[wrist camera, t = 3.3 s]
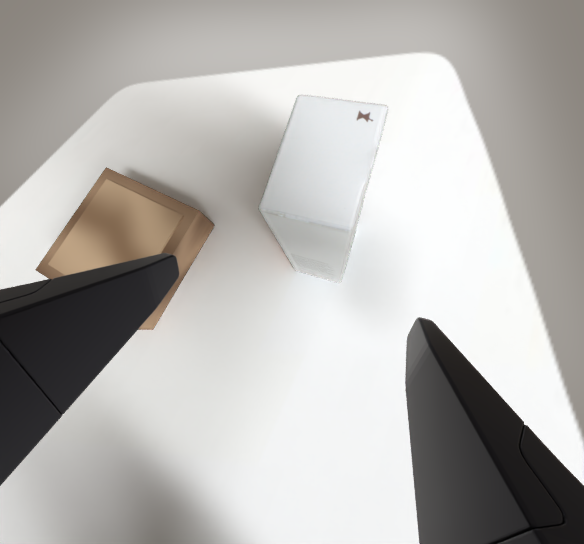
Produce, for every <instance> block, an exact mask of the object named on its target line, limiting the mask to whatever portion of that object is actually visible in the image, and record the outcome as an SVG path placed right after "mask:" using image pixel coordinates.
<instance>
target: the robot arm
mask: <svg viewBox="0 0 584 544" xmlns="http://www.w3.org/2000/svg"><path fill="white" fill-rule="evenodd" d="M179 274H180V272H179V267H178V262H177V258H176V256H175V255H172V254H168V253H162V254H157V255H153V256H148V257H144V258H140V259H135V260H131V261H126V262H122V263H118V264H113V265H109V266H105V267H100V268H96V269H91V270H87V271H83V272H78V273H74V274H70V275H65V276H61V277H56V278H53V279H47V280H43V281H39V282H34V283H30V284H25V285H20V286H16V287H11V288H6V289H1V290H0V486H1V484H2V483H3V482H4V481H5V480H6V479H7V478H8V477H9V475H10V474H11V473H12V472H13V471H14V470H15V469H16V467H17V466H18V465H19V464H20V463H21V462H22V461H23V460H24V458H25V457H26V456H27V455H28V454H29V453H30V452H31V450H32V449H33V448H34V447H35V446H36V445H37V444H38V443H39V441H40V440H41V439H42V438H43V437H44V436H45V435H46V433H47V432H48V431H49V430H50V429H51V428H52V427H53V425H54V424H55V423H56V422H57V421H58V420H59V419H60V418H61V416H62V414H64V413H65V412H66V410H67V409H68V408H69V407H70V406H71V405H72V404H73V403H74V401H75V400H76V399H77V398H78V397H79V396H80V395H81V393H82V392H83V391H84V390H85V389H86V388H87V387H88V386H89V384H90V383H91V382H92V381H93V380H94V379H95V378H96V376H97V375H98V374H99V373H100V372H101V371H102V370H103V369H104V367H105V366H106V365H107V364H108V363H109V362H110V361H111V360H112V358H113V357H114V356H115V355H116V354H117V353H118V352H119V350H120V349H121V348H122V347H123V346H124V345H125V344H126V343H127V341H128V340H129V339H130V338H131V337H132V336H133V335H134V333H135V332H136V331H137V330H138V329H139V328H140V327H141V326H142V324H143V323H144V322H145V321H146V320H147V319H148V318H149V316H150V315H151V314H152V313H153V312H154V311H155V310H156V308H157V307H158V306H159V304H160V303H161V302H162V300H163V299H164V298H165V296H166V295H167V293H168V292H169V291H170V289H171V288H172V286H173V285H174V284H175V282H176V281H177V279H178V278H179ZM405 384H406V398H407V409H408V420H409V432H410V443H411V454H412V465H413V476H414V487H415V499H416V510H417V521H418V532H419V543H420V544H584V485H583V484H582V483H581V482H580V481H579V480H578V479H577V478H576V477H575V476H574V475H573V474H572V473H571V472H570V471H569V470H568V469H567V468H566V467H565V466H564V465H563V464H562V463H561V462H560V461H559V460H558V459H557V457H556V456H555V455H554V454H553V453H552V452H551V451H550V450H549V449H548V448H547V447H546V446H545V445H544V444H543V442H542V441H541V440H540V439H539V438H538V437H537V436H536V435H535V434H534V433H533V431H532V430H531V429H530V428H529V427H528V426H527V425H524V422H523V421H522V419H521V418H520V417H519V416H518V415H517V414H516V413H515V412H514V411H513V410H512V408H511V407H510V406H509V405H508V404H507V403H506V402H505V401H504V400H503V398H502V397H501V396H500V395H499V394H498V393H497V392H496V391H495V390H494V389H493V387H492V386H491V385H490V384H489V383H488V382H487V381H486V380H485V379H484V377H483V376H482V375H481V374H480V373H479V372H478V371H477V370H476V369H475V368H474V366H473V365H472V364H471V363H470V362H469V361H468V360H467V359H466V358H465V356H464V355H463V354H462V353H461V352H460V351H459V350H458V349H457V348H456V346H455V345H454V344H453V343H452V342H451V341H450V340H449V339H448V338H447V337H446V335H445V334H444V333H443V332H442V331H441V330H440V329H439V328H438V327H437V325H436V324H435V323H434V322H433V321H431V320H428V319H424V318H420V317H419V318H417V319H416V321H415V323H414V325H413V326H412V328H411V330H410V332H409V334H408V337H407V350H406V379H405Z"/></svg>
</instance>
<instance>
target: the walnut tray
mask: <svg viewBox="0 0 584 544" xmlns="http://www.w3.org/2000/svg"><path fill="white" fill-rule="evenodd" d="M214 226H215V225H214V224H213V223H212V222H211V221H210V220H209V219H208V218H207V217H205V216H204V215H203V214H202V213H201V212H200V211H199V210H197V209H195V208H192V207H190V206H188V205H186V204H184V203H182V202H179V201H177V200H175V199H173V198H171V197H169V196H167V195H164V194H162V193H160V192H158V191H156V190H154V189H152V188H149V187H147V186H145V185H143V184H141V183H139V182H137V181H134V180H132V179H130V178H128V177H126V176H124V175H121V174H119V173H117V172H115V171H113V170H111V169H109V168H105V170H104V171H103V173H102V174H101V176H100V177H99V179H98V180H97V181H96V183H95V184H94V186H93V187H92V189H91V190H90V192H89V193H88V194H87V196H86V197H85V199H84V200H83V202H82V203H81V205H80V206H79V208H78V209H77V210H76V212H75V213H74V215H73V216H72V218H71V219H70V221H69V222H68V223H67V225H66V226H65V228H64V229H63V231H62V232H61V234H60V235H59V237H58V238H57V239H56V241H55V242H54V244H53V245H52V247H51V248H50V250H49V251H48V252H47V254H46V255H45V257H44V258H43V260H42V261H41V263H40V264H39V265H38V267H37V268H36V271H38V272H39V273H41V274H43V275H44V276H46V277H47V278H49V279H53V278H56V277H61V276H65V275H70V274H74V273H78V272H83V271H87V270H91V269H96V268H100V267H105V266H109V265H113V264H118V263H122V262H126V261H131V260H135V259H140V258H144V257H148V256H153V255H157V254H162V253H168V254H172V255H175V256H176V258H177V262H178V267H179V272H180V274H179V278H178V279H177V281H176V282H175V284H174V285H173V286H172V288H171V289H170V291H169V292H168V293H167V295H166V296H165V298H164V299H163V300H162V302H161V303H160V304H159V306H158V307H157V308H156V310H155V311H154V312H153V313H152V314H151V315H150V316H149V318H148V319H147V320H146V321H145V322H144V323H143V324H142V326H141V327H140V328H139V329H138V330H153V329H154V327H155V325H156V324H157V322H158V320H159V319H160V317H161V315H162V314H163V312H164V310H165V308H166V307H167V305H168V303H169V302H170V300H171V298H172V297H173V295H174V293H175V292H176V290H177V288H178V286H179V285H180V283H181V281H182V280H183V278H184V276H185V275H186V273H187V271H188V270H189V268H190V266H191V265H192V263H193V261H194V259H195V258H196V256H197V254H198V253H199V251H200V249H201V248H202V246H203V244H204V243H205V241H206V239H207V237H208V236H209V234H210V232H211V231H212V229H213V227H214Z"/></svg>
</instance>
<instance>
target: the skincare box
mask: <svg viewBox="0 0 584 544" xmlns="http://www.w3.org/2000/svg"><path fill="white" fill-rule="evenodd" d="M387 113H388V106H387V105H382V104H373V103H365V102H357V101H349V100H342V99H334V98H326V97H319V96H308V95H298V96H297V98H296V101H295V104H294V107H293V110H292V113H291V115H290V118H289V121H288V124H287V127H286V130H285V133H284V135H283V138H282V141H281V144H280V147H279V150H278V153H277V156H276V159H275V162H274V165H273V168H272V171H271V174H270V177H269V180H268V183H267V185H266V188H265V191H264V194H263V197H262V200H261V202H260V205H259V210H260V212H261V214H262V215H263V217H264V219H265V220H266V222H267V224H268V225H269V227H270V229H271V231H272V232H273V234H274V236H275V237H276V239H277V241H278V242H279V244H280V246H281V247H282V249H283V251H284V253H285V254H286V256H287V258H288V259H289V261H290V263H291V264H292V266H293V268H294V269H295V271H298V272H302V273H305V274H309V275H312V276H315V277H319V278H322V279H326V280H329V281H333V282H336V283H341V280H342V277H343V274H344V271H345V268H346V265H347V261H348V258H349V254H350V251H351V247H352V243H353V239H354V236H355V232H356V228H357V224H358V221H359V217H360V213H361V209H362V205H363V202H364V198H365V194H366V190H367V187H368V183H369V180H370V176H371V173H372V169H373V165H374V162H375V158H376V155H377V151H378V148H379V144H380V141H381V137H382V133H383V129H384V125H385V121H386V117H387Z"/></svg>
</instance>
